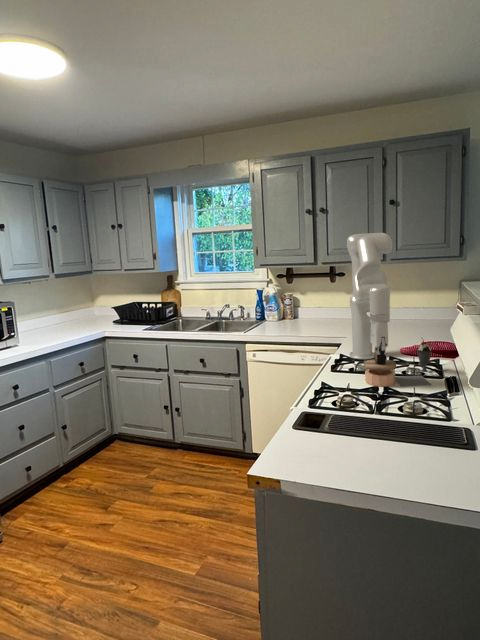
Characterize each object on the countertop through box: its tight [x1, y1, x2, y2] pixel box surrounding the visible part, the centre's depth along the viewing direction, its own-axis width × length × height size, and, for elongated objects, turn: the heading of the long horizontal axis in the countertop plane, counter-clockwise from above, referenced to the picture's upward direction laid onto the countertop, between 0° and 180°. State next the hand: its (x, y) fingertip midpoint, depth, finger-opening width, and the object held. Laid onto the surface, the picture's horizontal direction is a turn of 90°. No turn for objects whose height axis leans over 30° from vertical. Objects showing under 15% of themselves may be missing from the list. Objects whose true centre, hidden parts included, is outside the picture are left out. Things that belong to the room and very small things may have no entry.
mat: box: [395, 375, 433, 387], centre depth 179 cm, size 12×12×1 cm
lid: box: [363, 350, 397, 371], centre depth 178 cm, size 12×12×6 cm
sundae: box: [415, 337, 433, 373], centre depth 189 cm, size 7×7×15 cm
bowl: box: [364, 368, 396, 388], centre depth 180 cm, size 11×11×5 cm
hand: (379, 362), depth 178 cm, fingers closed on lid, 3 cm apart
